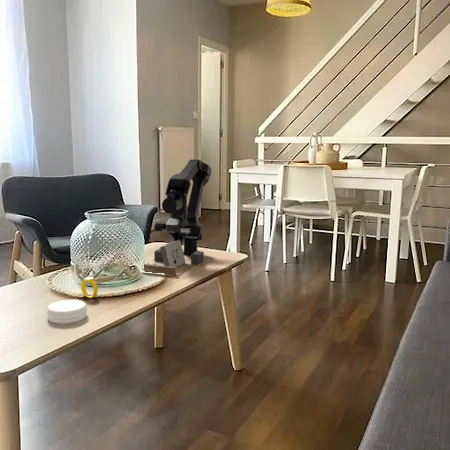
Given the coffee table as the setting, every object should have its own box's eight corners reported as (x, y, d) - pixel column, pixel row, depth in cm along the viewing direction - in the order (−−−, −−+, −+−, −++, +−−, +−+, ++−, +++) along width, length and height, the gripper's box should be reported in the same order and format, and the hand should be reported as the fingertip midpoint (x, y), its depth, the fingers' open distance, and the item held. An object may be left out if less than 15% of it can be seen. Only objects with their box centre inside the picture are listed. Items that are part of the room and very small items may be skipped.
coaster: (73, 308, 137) (72, 296, 136) (94, 317, 130) (94, 304, 130) (40, 318, 129) (39, 305, 128) (61, 327, 123) (60, 314, 122)
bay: (153, 264, 183) (153, 256, 183) (190, 267, 179) (190, 259, 179) (139, 272, 172) (139, 264, 171) (177, 276, 168) (177, 268, 167)
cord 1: (160, 257, 194) (160, 247, 193) (167, 258, 193) (167, 248, 192) (154, 261, 188) (154, 251, 187) (161, 262, 187) (161, 251, 186)
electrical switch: (171, 269, 177) (169, 244, 176) (160, 268, 180) (158, 244, 178) (186, 263, 185) (184, 239, 184) (174, 263, 188) (172, 239, 186)
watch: (79, 297, 146) (78, 277, 145) (87, 294, 148) (85, 275, 148) (92, 299, 143) (91, 280, 142) (100, 297, 145) (98, 278, 144)
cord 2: (196, 261, 190) (196, 251, 189) (203, 261, 189) (203, 251, 188) (191, 264, 184) (191, 254, 183) (198, 265, 183) (198, 255, 183)
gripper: (147, 211, 180) (148, 252, 183) (195, 214, 175) (195, 256, 178) (159, 206, 190) (160, 245, 193) (205, 209, 185) (204, 249, 188)
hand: (179, 249), depth 188 cm, fingers closed
